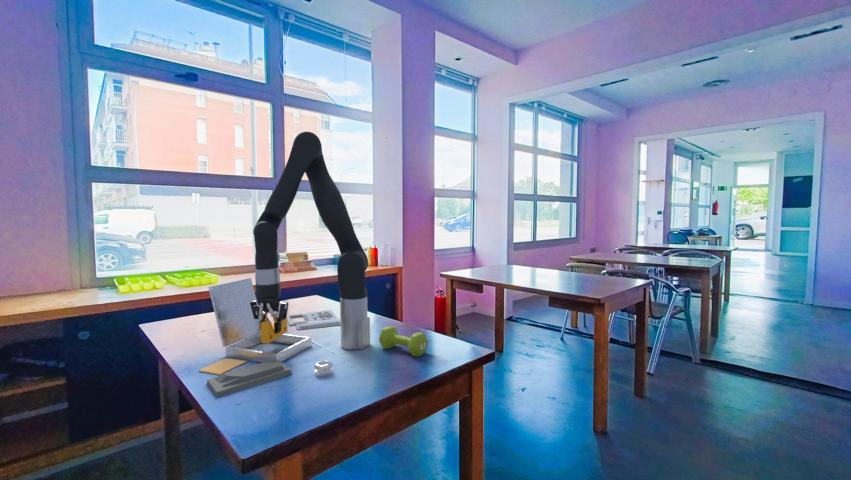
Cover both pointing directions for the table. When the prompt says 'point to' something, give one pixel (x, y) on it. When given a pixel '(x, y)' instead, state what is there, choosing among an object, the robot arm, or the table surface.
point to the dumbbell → (403, 340)
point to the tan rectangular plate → (222, 366)
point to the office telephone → (315, 320)
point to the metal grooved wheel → (323, 368)
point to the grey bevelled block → (247, 377)
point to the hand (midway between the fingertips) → (270, 332)
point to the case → (242, 352)
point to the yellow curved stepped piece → (271, 331)
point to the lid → (234, 310)
